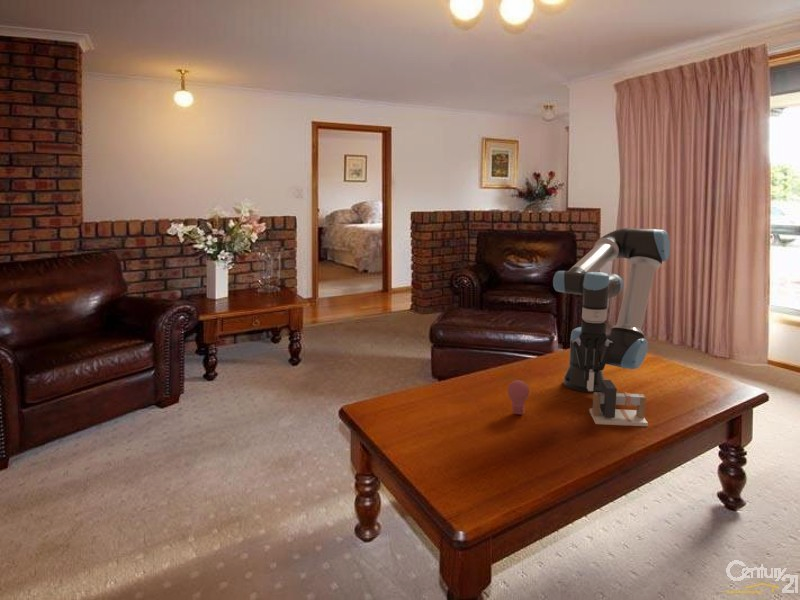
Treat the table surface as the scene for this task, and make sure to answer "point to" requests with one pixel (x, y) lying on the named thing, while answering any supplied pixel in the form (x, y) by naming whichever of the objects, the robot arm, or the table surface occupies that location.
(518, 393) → the light bulb
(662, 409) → the table surface
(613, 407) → the dark grey block
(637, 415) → the pipe rig
